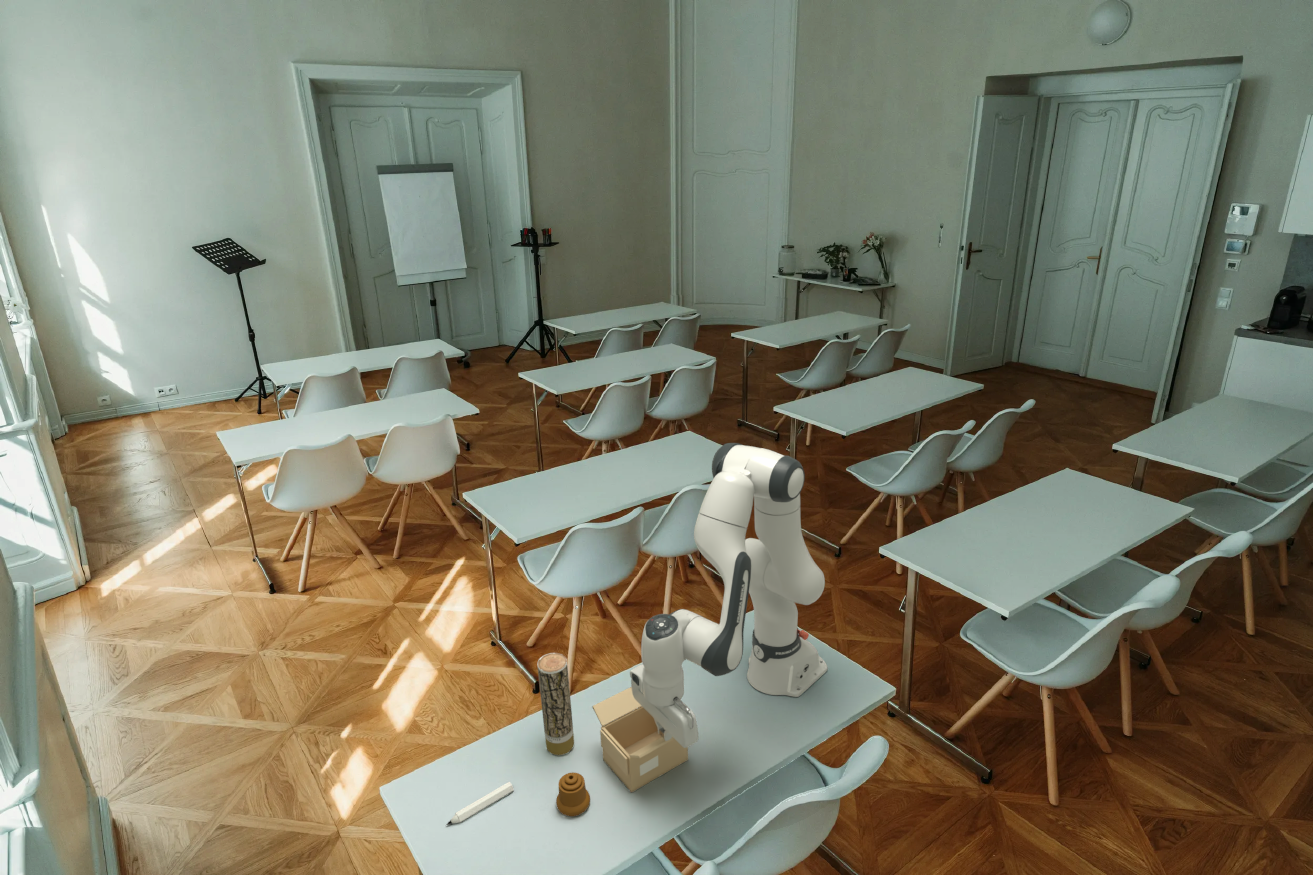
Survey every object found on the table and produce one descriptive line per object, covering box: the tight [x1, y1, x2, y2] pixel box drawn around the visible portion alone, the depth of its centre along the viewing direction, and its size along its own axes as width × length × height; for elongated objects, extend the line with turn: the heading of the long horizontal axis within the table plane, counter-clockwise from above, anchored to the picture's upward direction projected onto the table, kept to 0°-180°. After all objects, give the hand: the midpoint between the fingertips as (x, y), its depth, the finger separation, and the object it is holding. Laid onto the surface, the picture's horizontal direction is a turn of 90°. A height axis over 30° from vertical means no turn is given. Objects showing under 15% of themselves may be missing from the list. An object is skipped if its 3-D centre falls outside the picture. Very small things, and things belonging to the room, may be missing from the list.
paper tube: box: [536, 652, 575, 756], centre depth 182 cm, size 7×7×25 cm
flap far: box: [591, 686, 641, 727], centre depth 183 cm, size 16×1×5 cm
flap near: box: [629, 737, 674, 758], centre depth 172 cm, size 16×1×5 cm
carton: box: [599, 706, 689, 793], centre depth 180 cm, size 17×12×10 cm
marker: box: [445, 781, 515, 826], centre depth 171 cm, size 3×2×16 cm
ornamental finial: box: [555, 771, 591, 817], centre depth 169 cm, size 8×8×8 cm
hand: (664, 736), depth 171 cm, fingers closed
